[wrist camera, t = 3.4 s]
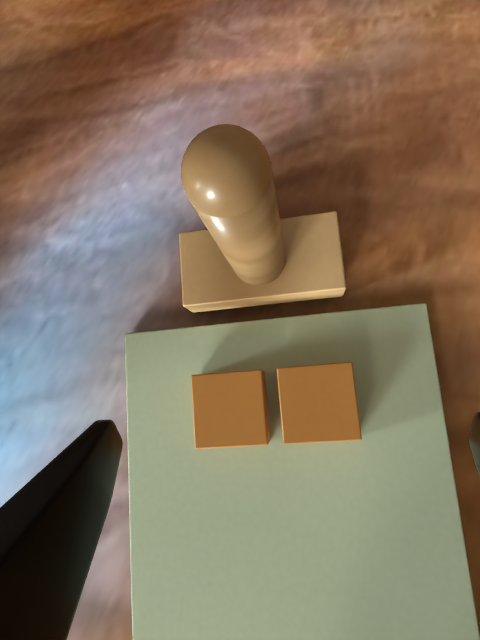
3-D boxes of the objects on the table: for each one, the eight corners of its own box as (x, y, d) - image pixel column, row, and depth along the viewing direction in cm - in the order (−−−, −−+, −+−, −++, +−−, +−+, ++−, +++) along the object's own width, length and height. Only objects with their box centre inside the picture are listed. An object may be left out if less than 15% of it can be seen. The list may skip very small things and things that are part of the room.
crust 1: (270, 441, 22) (268, 445, 21) (202, 445, 23) (194, 449, 21) (264, 370, 23) (261, 369, 21) (198, 375, 24) (190, 374, 22)
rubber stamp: (333, 231, 24) (364, 52, 11) (341, 300, 24) (386, 194, 11) (193, 249, 26) (75, 109, 13) (196, 315, 25) (75, 239, 12)
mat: (485, 702, 19) (493, 715, 19) (139, 688, 22) (133, 699, 21) (422, 305, 23) (426, 302, 22) (130, 334, 26) (124, 333, 25)
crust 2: (358, 436, 22) (362, 440, 20) (285, 440, 22) (283, 444, 21) (349, 363, 22) (352, 361, 21) (278, 368, 23) (276, 367, 21)
